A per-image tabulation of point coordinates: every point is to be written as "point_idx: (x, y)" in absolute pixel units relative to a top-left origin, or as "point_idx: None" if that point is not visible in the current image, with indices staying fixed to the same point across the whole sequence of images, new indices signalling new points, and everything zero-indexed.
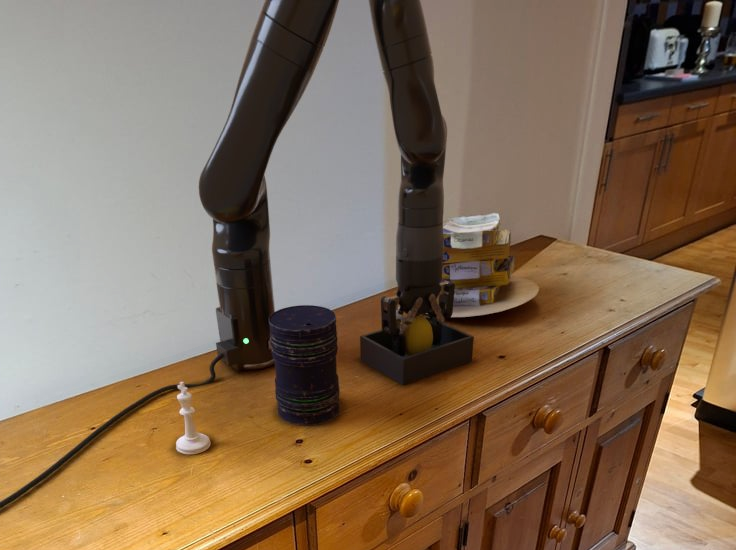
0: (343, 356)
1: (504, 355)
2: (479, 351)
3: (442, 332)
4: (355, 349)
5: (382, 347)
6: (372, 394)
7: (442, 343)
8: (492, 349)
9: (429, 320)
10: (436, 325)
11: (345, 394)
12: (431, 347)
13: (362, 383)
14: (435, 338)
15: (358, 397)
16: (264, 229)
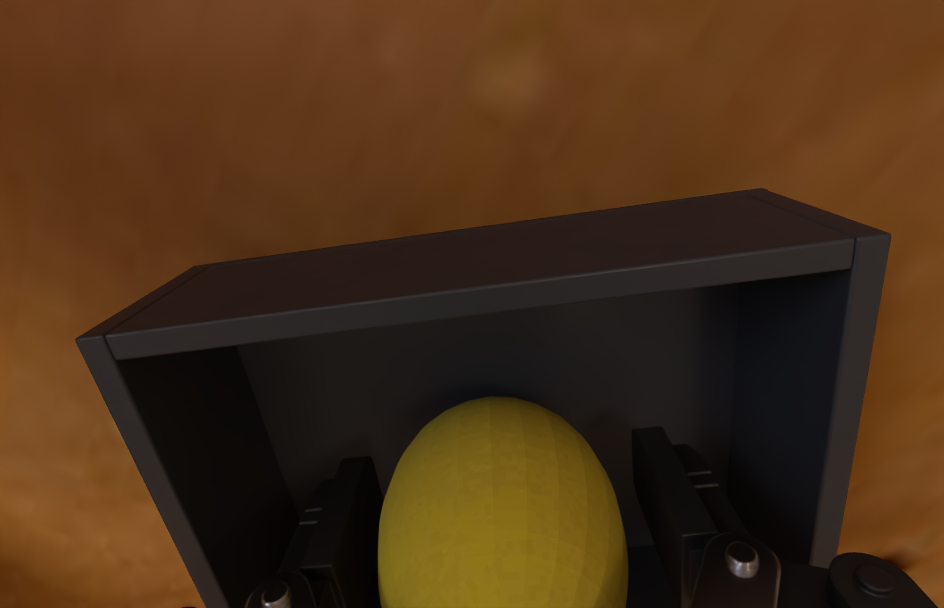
0: (97, 152)
1: (915, 560)
2: (862, 478)
3: (785, 414)
4: (209, 81)
5: (194, 570)
6: (154, 585)
7: (744, 376)
8: (937, 489)
9: (832, 287)
10: (679, 603)
11: (33, 541)
12: (673, 341)
13: (134, 494)
14: (646, 511)
15: (87, 581)
16: None
